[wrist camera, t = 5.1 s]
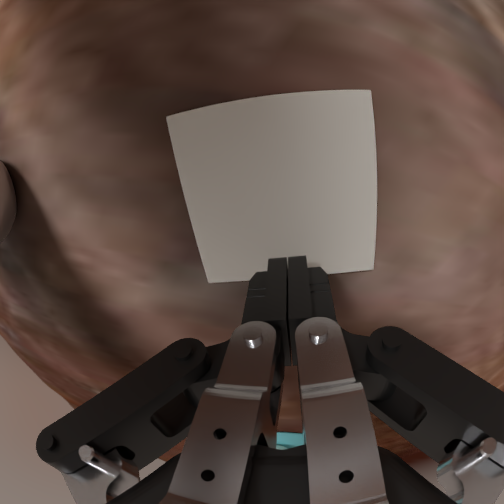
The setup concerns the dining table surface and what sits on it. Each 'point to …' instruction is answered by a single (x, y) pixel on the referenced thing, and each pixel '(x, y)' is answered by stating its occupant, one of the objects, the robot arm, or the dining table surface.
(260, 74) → the dining table surface
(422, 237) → the dining table surface
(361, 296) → the dining table surface
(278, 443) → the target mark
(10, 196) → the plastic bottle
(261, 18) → the dining table surface
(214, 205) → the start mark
